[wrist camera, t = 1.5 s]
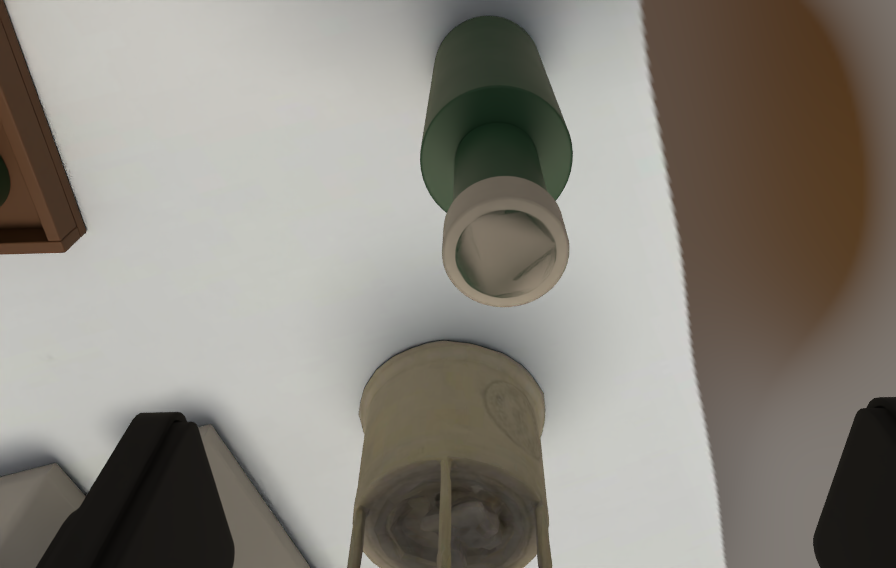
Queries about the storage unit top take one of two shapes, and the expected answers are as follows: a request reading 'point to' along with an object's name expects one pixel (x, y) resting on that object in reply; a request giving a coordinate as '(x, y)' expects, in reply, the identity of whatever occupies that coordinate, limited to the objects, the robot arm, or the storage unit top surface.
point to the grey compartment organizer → (56, 496)
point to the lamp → (451, 462)
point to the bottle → (497, 163)
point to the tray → (30, 163)
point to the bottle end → (4, 182)
